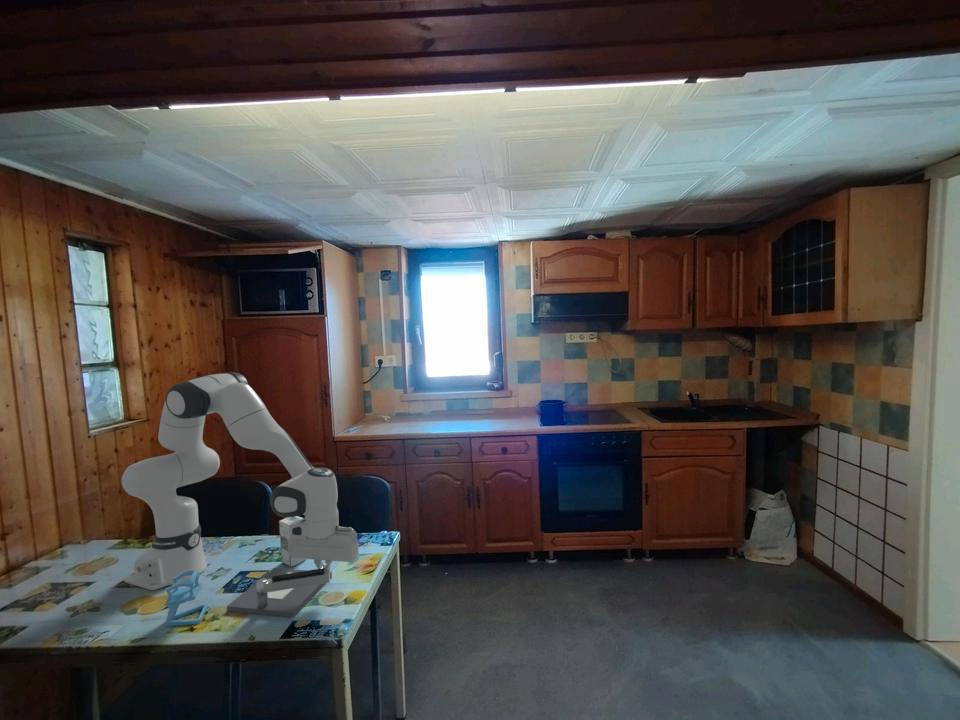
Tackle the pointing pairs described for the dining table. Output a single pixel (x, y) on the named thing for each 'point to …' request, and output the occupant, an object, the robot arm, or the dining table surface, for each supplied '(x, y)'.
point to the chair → (183, 599)
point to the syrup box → (284, 538)
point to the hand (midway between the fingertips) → (324, 573)
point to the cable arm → (292, 580)
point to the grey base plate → (275, 598)
